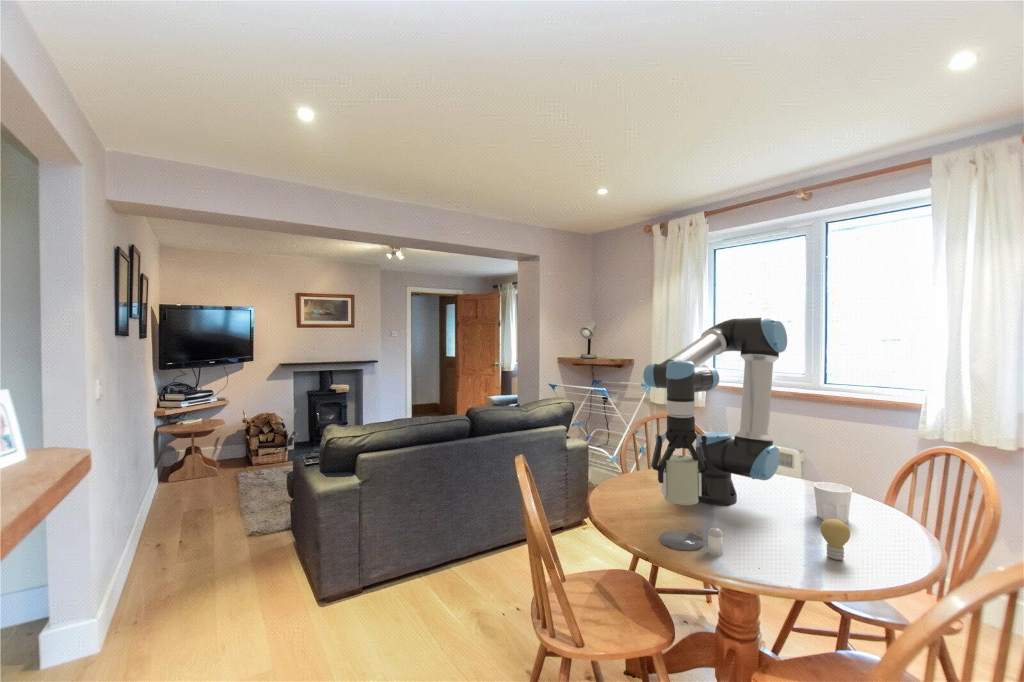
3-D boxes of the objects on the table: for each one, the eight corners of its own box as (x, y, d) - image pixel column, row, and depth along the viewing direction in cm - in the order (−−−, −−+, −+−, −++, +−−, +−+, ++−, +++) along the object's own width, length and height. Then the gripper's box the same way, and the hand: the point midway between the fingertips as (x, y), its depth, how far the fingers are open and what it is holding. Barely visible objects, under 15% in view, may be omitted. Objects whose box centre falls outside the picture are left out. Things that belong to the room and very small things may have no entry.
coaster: (696, 532, 140) (696, 530, 140) (710, 551, 128) (710, 549, 128) (655, 531, 141) (655, 529, 141) (665, 550, 129) (665, 547, 129)
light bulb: (814, 553, 127) (814, 515, 127) (837, 551, 127) (837, 514, 127) (833, 564, 120) (832, 525, 120) (856, 563, 121) (856, 524, 121)
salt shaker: (719, 550, 129) (719, 525, 129) (724, 556, 125) (724, 530, 125) (706, 549, 129) (706, 525, 129) (710, 556, 126) (710, 530, 126)
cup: (854, 517, 151) (854, 486, 151) (849, 527, 143) (849, 494, 143) (817, 509, 158) (817, 480, 157) (810, 518, 150) (810, 487, 150)
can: (698, 495, 138) (697, 454, 138) (699, 506, 129) (699, 462, 129) (664, 492, 141) (664, 452, 141) (663, 503, 132) (663, 460, 132)
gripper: (715, 413, 137) (716, 490, 138) (639, 413, 139) (640, 489, 139) (724, 417, 130) (725, 499, 130) (644, 417, 132) (645, 498, 132)
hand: (681, 494), depth 135 cm, fingers closed on can, 9 cm apart
